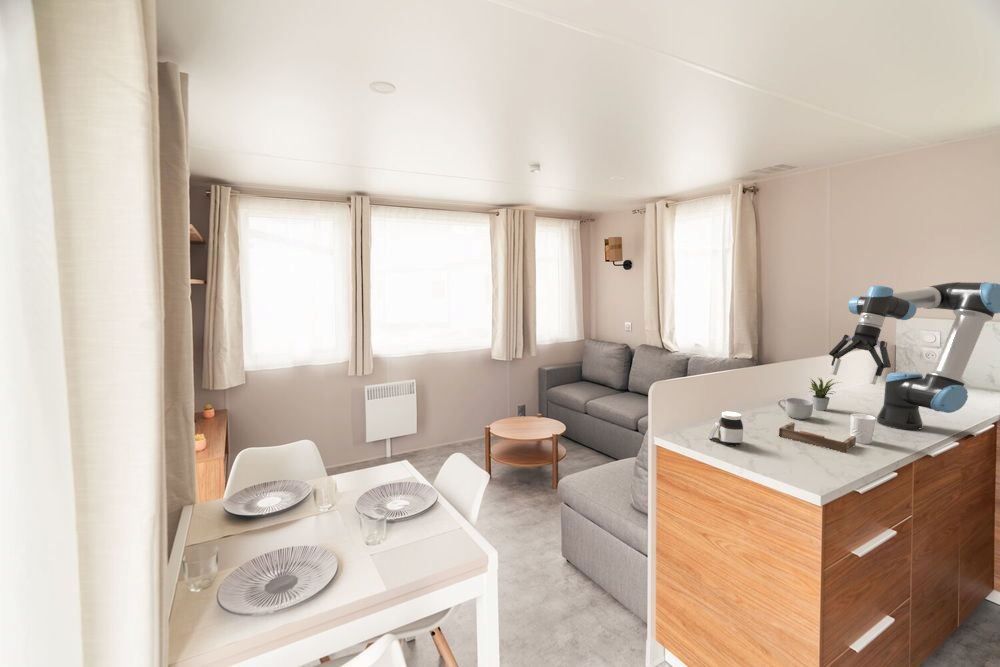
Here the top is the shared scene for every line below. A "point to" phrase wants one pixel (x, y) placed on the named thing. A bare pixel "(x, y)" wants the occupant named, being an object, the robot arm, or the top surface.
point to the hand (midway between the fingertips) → (852, 379)
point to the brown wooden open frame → (816, 439)
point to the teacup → (797, 407)
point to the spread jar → (729, 429)
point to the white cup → (862, 427)
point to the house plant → (821, 394)
